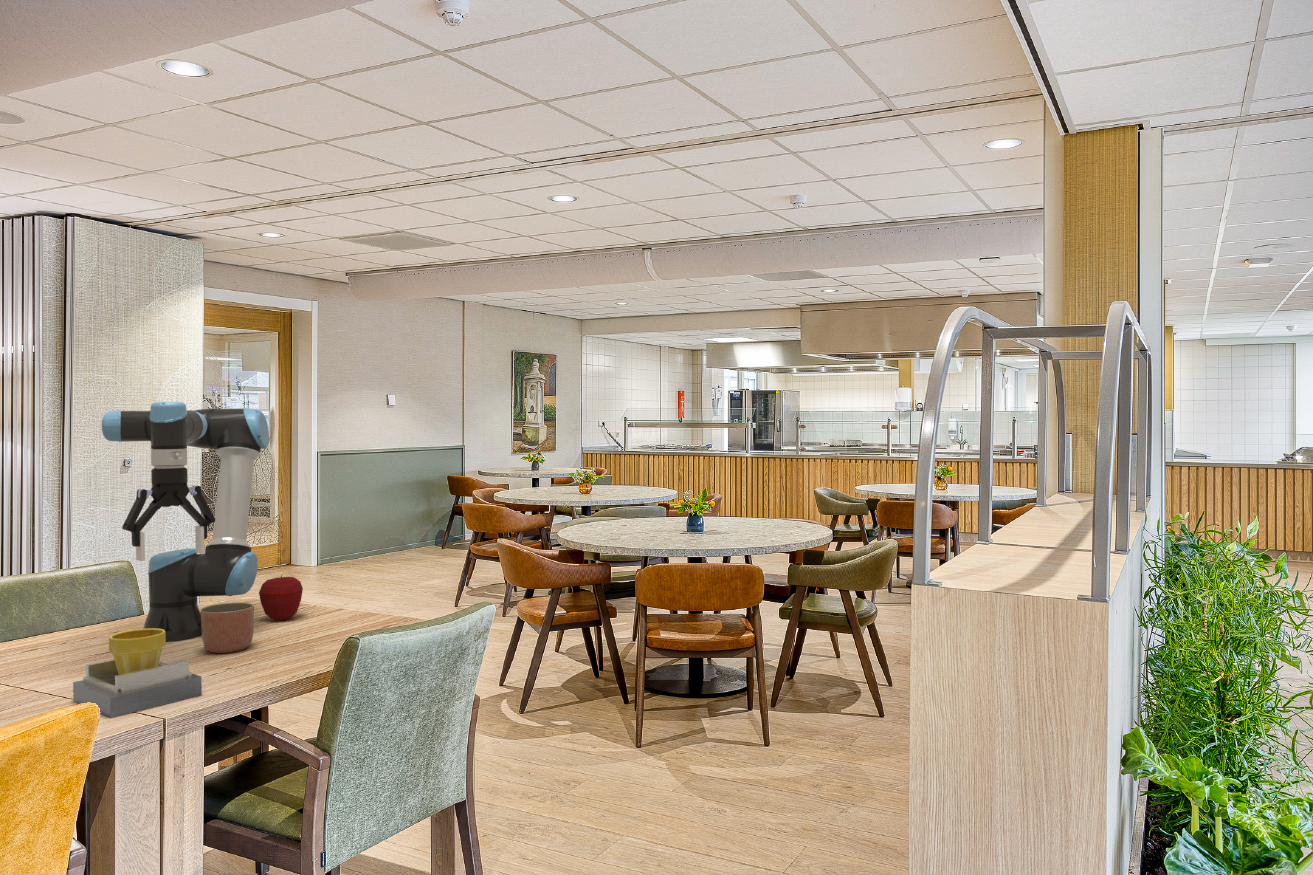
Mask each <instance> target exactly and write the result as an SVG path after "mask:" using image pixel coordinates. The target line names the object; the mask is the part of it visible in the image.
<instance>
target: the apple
mask: <svg viewBox="0 0 1313 875" xmlns="http://www.w3.org/2000/svg"><path fill="white" fill-rule="evenodd" d="M282 576H283V574H281V575H280V577H272V578H269V579H267V580H265V581H264V582H263V583H262V584H261V586H260V589H259V591H258V594H259V595H258V596H259V601H260V604H261V608H262V609H263V611H264V612H263V613H264V614H265V615H266V617H269V618H270V619H272V620H273V621H277V622H279V621H281V622H283V621H290V620H291V619H292V618H293V617H294V616H295V615H296V614H297V613H298V611H299V607H300V605H301V601H302V598H303V589H304V588H303V584H302V582H301V580H299V579H298V578H296V577H294V576H283V577H282Z"/></svg>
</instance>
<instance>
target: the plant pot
mask: <svg viewBox="0 0 1313 875" xmlns="http://www.w3.org/2000/svg"><path fill="white" fill-rule="evenodd" d="M166 642H167V641H166V635H165V630H163V629H156V628H149V629H143V628H138V629H137V628H136V629H130V630H129V629H128V630H124V631H119V632H116V633H114V634H113V633H112V634H111V635H110V636H109V637H108V648H109V649H108V650H109V653H110V654H112V655H113V659H114V660H115V663H116V667H117V670H118V674H119V675H121V674H125V673H130V672H135V671H139V670H144V669H149V668H153V667H158V665H159V661H160V660H161V656H162V651H163V648H165V646H166Z"/></svg>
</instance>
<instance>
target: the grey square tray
mask: <svg viewBox="0 0 1313 875" xmlns="http://www.w3.org/2000/svg"><path fill="white" fill-rule="evenodd" d="M189 668H190V667H189V661H188V660H183V661H177V662H172V663H166V662H163V661H160V660H159V665H158V667H153V668H149V669H144V670H139V671H135V672H130V673H125V674H121V675H119V674H118V670H117V667H116V663H115V660H114V658H113V659H107V660H103V661H98V662H92V663H87V664H85V672H86V673H85V676H83V677H82V678H83V679H82V680H76V681H73V682H72V693H73V695H72V696H73V697H72V700H73V702H74V703H77V704H79V703H87V702H91V703H96V704H97V705H98V707H99V708H100V712H101V713H100V715H104V716H105V717H108V718H109V719H110V718H111V719H112V718H115V717H119V716H123V715H126V714H127V715H128V714H131V713H136V712H140V711H144V710H147V709H151V708H155V707H160V706H163V705H168V704H172V703H175V702H180V701H183V700H188V699H191V698H196V697H200V696H202V695H203V691H202V690H203V689H202V676H201V675H199V674H195V673H193V672H191V671H190V669H189Z"/></svg>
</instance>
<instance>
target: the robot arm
mask: <svg viewBox="0 0 1313 875" xmlns="http://www.w3.org/2000/svg"><path fill="white" fill-rule="evenodd" d="M101 433H102V435H103V438H104V439H105V440H107V441H108V442H119V443H123V442H124V443H125V442H127V443H128V442H129V443H130V442H150V466H152V467H153V468H152V469H151V470H150V471H151V473H150V475H151V488H150V489H144V488H138V489H137V490H136V495H135V498H136V499H135V500H134V502H133V504H132V506H131V508H130V510H129V512H128V514H127V517H126V518H125V521H124V523H123V524H122V526H121V529H122V530H124V531H127V532H130V533H131V545H132V547H135V560H136V561H139V562H145V560H146V553H145V552H146V551H145V550H146V544H145V541H146V540H145V538H146V537H145V531H144V532H143V529H144V528H145V527H146V525H147V524H148V523H149V521H150V520H151V519H152V518H153V517H154V515H155V514H156V513H157V512H158V511H159V510H160V509H161V508H162V507H164V508H169V507H179V506H180V507H182V508H183V509H184V511H185V512H186V513H187V514H189V516H190V517H191V518H192V519H193V520H194V522H195V523H197V524H198V525H195V526H194V527H195V528H194V532H195V536H194V537H195V539H194V540H195V548H194V547H192V548H181V549H175V550H170V551H166V552H161V553H157V554H155V555H153V556H151V557H150V559H149V561H148V571H147V575H148V595H149V596H148V600H149V601H148V602H149V603H148V604H149V608H148V609H149V610H148V613H147V615H146V618H145V622H144V625H143V628H142V629H149V628H156V629H163V630H165V635H166V641H165V642H172V641H180V640H186V639H192V638H195V637H199V636H202V627H201V609H200V608H199V605H198V597H220V596H221V597H222V596H223V597H224V596H226V597H232V596H241V595H242V596H243V595H245V594H247V593H249V591H250V590H251V588H252V587H253V586H254V584H255V581H256V578H257V573H258V555H257V554H256V553H255V552H252V546H251V545H250V544H249V543H248V541H247V537H248V536H247V535H248V525H249V516H250V506H251V495H252V494H251V493H252V485H253V483H252V482H253V475H254V473H253V472H254V466H255V465H254V463H255V461H256V460H257V459H258V458H260V457H261V452H262V451H261V450H265V449H266V448H268V446H269V443H270V431H269V425H268V420H267V418H266V416H265V414H264V413H263V411H261V410H260V409H258V408H248V407H243V408H202V409H190V410H187V405H186V403H185V402H182V401H156V402H155V401H154V402H153V403H151V405H150V410H121V409H120V410H110V411H107V412H106V413H105V414H104V415H103V417H102V420H101ZM188 447H193V448H199V449H209V450H210V449H212V450H213V449H215V450H216V451H215V453H216V455H217V456H218V457H219V458H220V466H219V469H220V470H219V474H218V475H219V476H218V487H217V496H216V504H215V512H214V513H215V514H213V512H212V510H211V508H210V506H209V505H208V503H207V501H206V499H205V497H204V495H203V491H202V486H200V485H192V486H189V487H188V482H189V481H188V480H189V479H188V468H187V467H185V466H186V465H188ZM189 493H190V496H192V498H193V499H194V501H195V504H196V506H197V507H198V509H199V511H200V512H201V513H200V512H199V511H198V510H197V509H196V508H195V506H193V505H192V503H191V502H190V500H189V499H188V498H187V496H188V494H189ZM149 497H152V501H151V502H150V503H149V504H148V507H147V508H146V509H145V511H144V512H143V513H142V514H141V512H142V510H143V508H144V506H145V504H146V501H147V500H148V499H149ZM140 514H141V515H140ZM139 516H140V517H139ZM210 524H213V531H212V532H213V533H212V540H210V542H208V543H207V544H206V545H205V540H207V539H208V527H209V526H210Z"/></svg>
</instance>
